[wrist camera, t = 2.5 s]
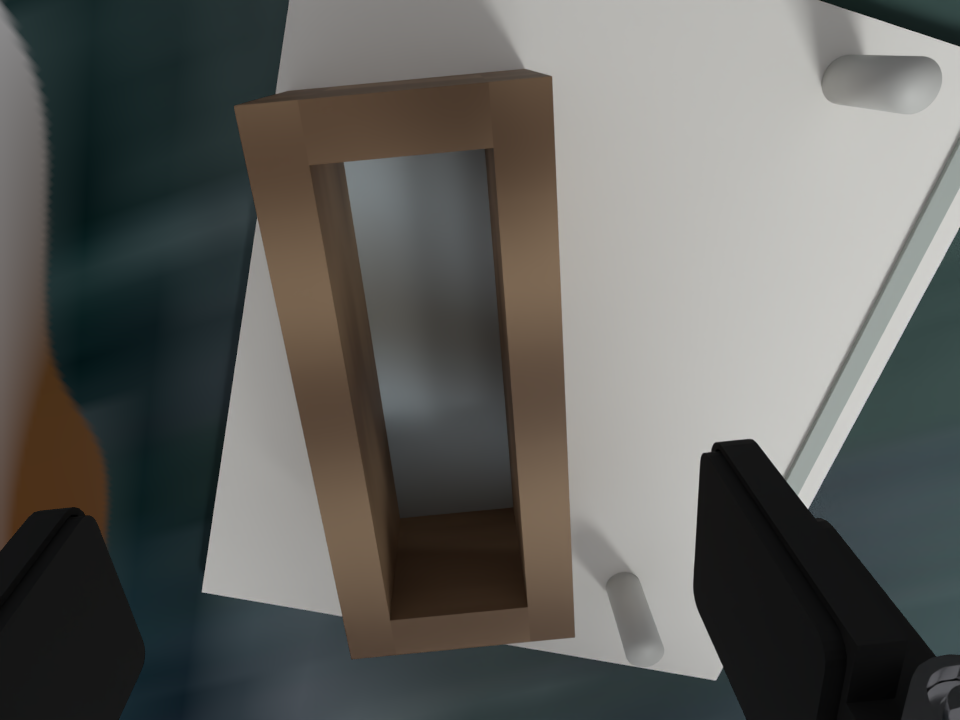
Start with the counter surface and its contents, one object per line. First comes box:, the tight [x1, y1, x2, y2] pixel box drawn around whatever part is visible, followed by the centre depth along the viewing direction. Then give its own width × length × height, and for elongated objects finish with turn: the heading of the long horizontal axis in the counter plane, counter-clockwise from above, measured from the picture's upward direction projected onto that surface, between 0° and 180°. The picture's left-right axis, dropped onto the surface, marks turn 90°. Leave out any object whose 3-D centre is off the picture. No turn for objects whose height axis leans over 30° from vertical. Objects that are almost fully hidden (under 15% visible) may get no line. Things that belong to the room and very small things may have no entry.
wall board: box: [202, 0, 960, 680], centre depth 20 cm, size 22×19×4 cm
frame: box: [234, 69, 575, 659], centre depth 18 cm, size 14×6×5 cm, turn 5°
